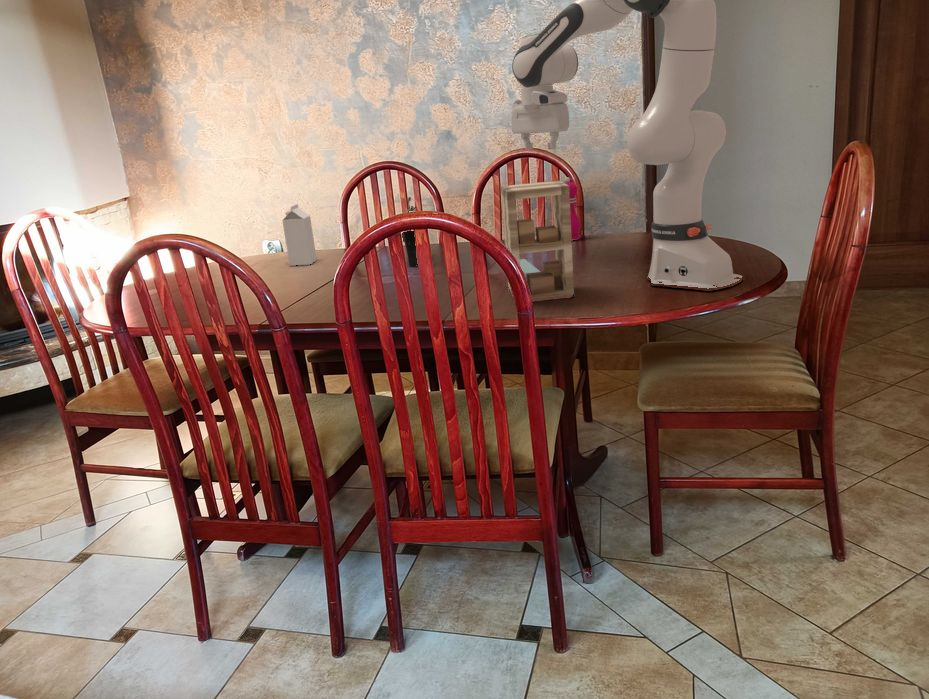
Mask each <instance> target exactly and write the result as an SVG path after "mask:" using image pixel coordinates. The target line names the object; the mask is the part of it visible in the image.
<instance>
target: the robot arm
mask: <svg viewBox="0 0 929 699" xmlns="http://www.w3.org/2000/svg"><path fill="white" fill-rule="evenodd" d="M633 11H637V12H640V13H642V14H644V15H646V16H647V17H649V18H652V19H654V18H656V17H657V16H659V17H660V18H661V19H662V20H663V24H664V34H663V35H664V36H663V42H662V49H661V59H660V66H659V73H658V80H657V84H656V87H655V90H654V93H653V95H652V98H651V100H650V102H649V104H648V106H647V107H646V110H644V113H643V114H642V115H641V117H640V118H639V119H638V120H637V121H635V123H633V125H631V127H630V129H629V131H628V135H627V138H626V141H627V142H626V143H627V149H628V152H629V154H630V157H631V158H632V160H634V161H635V162H636V163H638V164H642V165H648V166H649V165H651V166H653V165H654V166H660V165H665V164H668V166H667V170H666V172H665V174H664V176H663V178H662V179H661V180H660V181H659V182H658V183H657V184H656V185H655V187H654V189H653V193H652V194H653V195H652V197H653V198H652V201H653V203H652V206H653V210H652V211H653V212H652V213H653V217H652V218H653V221H652V222H651V237H652V238H651V239H652V241H653V242H652V254H651V261H650V268H649V272H648V276H647V278H648V277H649V278H650V279H651V283H653V284H664V285H677V286H688V287H698V288H707V289H709V288H717V287H723V286H727V285H730V284H732V283H735V282H737V281H739V280H740V279H734V278H736V277H739V278H742V277H743V275H741V274H736V273H734V269H733V262H732V258H731V255H730V254H729V253H728V252H727V251H726V250H724V249H723V248H721V247H720V246H719V245H718V244H717V243H716V242H715V241H713V240H712V238H710V236H709V234H708V233H709V232H708V231H709V230H711V229H712V227H711V226H712V224H710V223H709V224H707V225H706V224H705V222H704V220H703V219H702V202H703V189H704V188H703V187H704V182H705V179H706V178H705V177H706V175H707V172H708V170H709V167H710V165H711V162H712V161H713V158H714V157H715V155H716V154H717V153H718V151H720V149H721V148H722V147H723V145H724V143H725V141H726V136H727V127H726V124H725V121H724V120H723V118H722V116H720V114H718V113H716V112H713V111H706V110H698V109H697V110H692V108H693V106H694V104H695V102H696V101H697V100H698V98H700V96H701V95H703V93H704V92H706V90H707V89H708V87H709V85H710V83H711V77H712V70H713V69H712V68H713V63H714V55H715V47H716V40H717V24H718V23H717V5H716V2H715V0H575V1H573V2H572V3H571V4H569V5H568V6H567V7H565V8H564V9H563V10H562V11H561V12H559V13H558V14H557V16H555V17H554V19H552V20H551V21H550V22H549V23H548V25H547V26H546V27H545V28H544V29H542V31H541V32H540V33H534V34H530V35H527V36H525V37H523V38H522V39H521V41H520V43H519V49H518V50H517V51H516V53H515V55H514V57H513V60H512V63H511V64H512V65H511V68H512V74H513V76H514V78H515V80H516V81H518V83H519V84H520V95H521V99H516V100H515V101H514V102H513V104H512V108H511V109H512V110H511V114H510V116H511V118H510V120H511V121H510V128H511V132H512V133H513V134H514V135H515V134H516V135H517V134H520V135H521V140H522V142H523V143H524V150H526V151H530V150H533V149H534V143H533V142H531V140H530V137H531V134H537V133H538V134H541V133H543V134H544V133H549V137H550V141H549V142H548V143H547V149H548V150H556V149H557V141H558V139H559V136H560V134H559V133H561V132H563V133H564V132H567V131H568V130H569V128H570V115H569V107H568V105H567V104H566V103H567V102H568V95H567V94H566V93H564V92H561V91H558V90H556V89H554V86H553V85H554V84H561V83H567V82H569V81H571V80H572V79H573V78H574V77H575V76H576V74H577V72H578V68H579V56H578V53H577V52H576V50H575V48H574V47H573V46H571V45H570V44H567V43H569V42H570V41H572V40H575V39H576V38H579V37H582V36H585V35H590V34H594V33H599V32H604V31H609V30H611V29H614V28H615V27H616V26H618V25H619V24H621V23H622V22H623V21H624V20H626V18H627V17H629V15H630V14H632V12H633ZM659 282H662V283H659ZM713 285H715V286H713ZM716 286H717V287H716Z"/></svg>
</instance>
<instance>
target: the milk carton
mask: <svg viewBox="0 0 929 699" xmlns="http://www.w3.org/2000/svg"><path fill="white" fill-rule="evenodd" d="M282 227H283V233H284V240H285V245H286V250H287V257H288V262H289V266H290V267H295V266H296V265H298V266H309V265H310V264H311V265H312V264H314V263H315V262H316V261H317V260H318V257H317V253H316V246H315V239H314V232H313V225H312V220H311V215H310V214H308V212H306V211H305V210H303V209H302V208H300V207H299V203H296V204H293V205H292V206H290V208H289V209H287V211H286V212H285V217H284V218H283V219H282ZM313 262H314V263H313Z"/></svg>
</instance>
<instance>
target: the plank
mask: <svg viewBox="0 0 929 699" xmlns="http://www.w3.org/2000/svg"><path fill="white" fill-rule="evenodd" d="M520 267H521V269H522V271H523V272H524V274H525V277H526V279H527V274H526V273H535V272H541V271H540V269H538V268H537V267H536V266H534V265H533V264H532V263H531V262H529V261H528V260H527V259H525V258H520Z"/></svg>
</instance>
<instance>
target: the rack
mask: <svg viewBox="0 0 929 699" xmlns="http://www.w3.org/2000/svg"><path fill="white" fill-rule="evenodd" d="M500 194H501V207H502V220H503V221H502V222H503V231H504V232H503V233H504V244H505V245H504V246H506V247H507V248H508V250H509V251H510V252H511V253H512V255H513V256H514V257H515V258H516V260H517V262H518V264H519V266H520V259H521V258H520V257H521V256H520V255H523V254H531V253H541V252H549V251H554V252H555V260H548V261H542V264H543V265H542V266H543V271H540V272H535V273H526V274H527V281H526V284H527V283H528V286H529V289H530V292H531V296H532V299H533V298H543V297H544V298H545V297H555V296H563V295H573V294H574V295H575V283H574V282H575V281H574V280H575V279H574V264H573V243H572V238H571V217H570V196H569V185H567V184H565V182H563V181H561V180H549V181H540V182H532V183H520V184H511V185H501V186H500ZM543 197H544V198H545V197H552V198H551V199H552V213H553V225H546V226H545V225H544V226H535V221H534V220H533V219H532V218H525V219H518V216H517V202H516V200H523V199H531V198H533V199H534V198H543ZM507 285H508V287H509V288H508V290H509V289H510V291H511V287H510V284H509V282H508V281H507ZM511 294H512V291H511ZM512 296H513V295H512Z"/></svg>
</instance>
